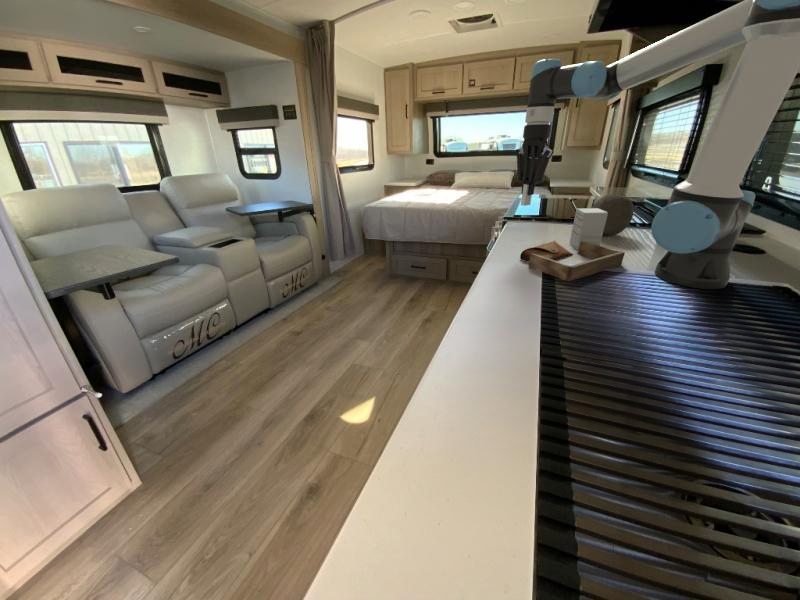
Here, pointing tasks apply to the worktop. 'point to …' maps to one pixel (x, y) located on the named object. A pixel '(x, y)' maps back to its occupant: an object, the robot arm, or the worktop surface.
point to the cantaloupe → (615, 213)
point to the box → (602, 261)
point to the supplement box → (588, 226)
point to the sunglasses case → (546, 251)
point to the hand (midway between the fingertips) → (525, 204)
